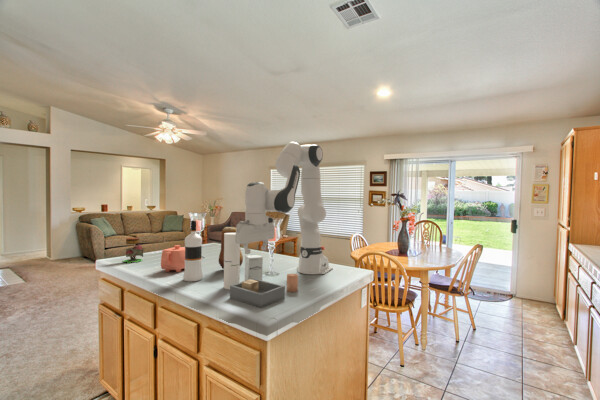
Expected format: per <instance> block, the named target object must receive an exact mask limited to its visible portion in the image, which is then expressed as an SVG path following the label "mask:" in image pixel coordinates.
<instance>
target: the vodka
mask: <svg viewBox="0 0 600 400" xmlns="http://www.w3.org/2000/svg"><path fill="white" fill-rule="evenodd" d="M184 247H185V269H183V270H184V271H183V277H182V278H183V281H185V282H188V283H189V282H190V283H193V282H198V281H201V280H202V279H203V277H204V275H203V268H202V267H203V266H202V261H203V259H202V252H203V251H202V248H203V237H202V236H201V235H200V234H198V233H197V220H190V234H188V235H187V236H186V237H184Z"/></svg>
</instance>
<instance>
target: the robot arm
mask: <svg viewBox="0 0 600 400" xmlns="http://www.w3.org/2000/svg"><path fill="white" fill-rule="evenodd" d="M323 154H324V153H323V149H322V148H321V146H320V145H318V144H302V145H300V144H299V142H295V141H290V142H288V143H287V144H286V145H285V146H284V147H283V148H282V150H281V151H280V153H279V154H278V156H277V158H276V160H275V163H274V166H275V170H276V171H277V173H278V174H279V175H280V176H282V177H283V178H286V182H285V185H284V187H283V188H281V189H272V190H271V189H269V188H267V187H266V186H265V182H263V181H262V182H261V181H255V182H249V183H248V184H247V185H246V186H245V190H244V191H245V192H244V193H245V194H244V203H245V204H244V205H245V211H244V212H245V213H244V219H245V220H240V221H239V222H237V224H236V227H235V228H236V235H235V242H236V243H237V244H241V245H242V247H243V250H244V254H245V255H251V249H250V248H249V247H248V246H249V244H251V243H256V242H262V246H261V245H260V250H261V251H266V250H267V246H268V243H269V240H273V239H274V238H275V230H276V229H275V224H274V223H275V218H274V217H271V216H269V215H267V212H274V213H275V212H278V213H285V214H287V213H289V212H290V211H291V210H292V209H293V207H294V206H295V202H296V193H297V190H298V186H299V183H300V193H301V195H302V200H303V204H301V205H300V206H299V207H298V208H297V215H298V219H299V220H298V221H299V226H300V247H299V248H300V249H299V253H300V254H299V256H298V265H297V267H296V270H297V272H298V273H301V274H304V275H325V274H327V273H329V272H330V271H332V270H334V268H333V266H331V265H330V264H329V263H330V261H329V258H328V257H327V256H326V255H324V254H323V251H325V249H326V248H325V246H321V236H322V235H321V231H320V228H319V223H321V222H323V221H324V220H325V218H326V217H327V211H326V208H325V207H324V203H323V197H322V192H321V190H322V189H321V185H322V184H321V170H320V164H321V162H322V160H323V156H324V155H323ZM300 167H301V170H300ZM300 178H301V179H300Z"/></svg>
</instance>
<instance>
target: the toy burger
mask: <svg viewBox="0 0 600 400" xmlns="http://www.w3.org/2000/svg"><path fill="white" fill-rule="evenodd" d="M125 240H126V241H125V244H126V245H135V246H133V247H128V248H126V250H125V257H126V258H128V257H129V259H125V260H123V261H122V263H123V262H127V263H126V264H132V263H131V262H136V263H140V262H142V261H143V260H142V258H143V257H144V251H145V249H146V248H145V247H144V248H143V247H142V245H141V244H140V238H139V237H127V238H126V239H125ZM138 256H140V257H142V258H137V257H138ZM139 261H140V262H139Z"/></svg>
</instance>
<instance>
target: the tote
mask: <svg viewBox="0 0 600 400" xmlns="http://www.w3.org/2000/svg"><path fill="white" fill-rule="evenodd" d="M252 280H255V281H259V285H258V293H257V292H254V291H250V290H247V289H243V288H242V282H243V281H240V282H239V283H238V284H235V285H231V286H230V289H229V298H230V299H233V300H235V301H237V302H241V303H244V304H248V305H251V306H253V307H256V308H260V309H263V308H264V307H265V308H266V306H269V305H272V304H274V303H277V302H279V301H282V300H284V299H285V297H286V296H285V295H286V286H285V285H281V284H277V283H273V282H270V281H266V280H263V279H262V280H258V279H252Z"/></svg>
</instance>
